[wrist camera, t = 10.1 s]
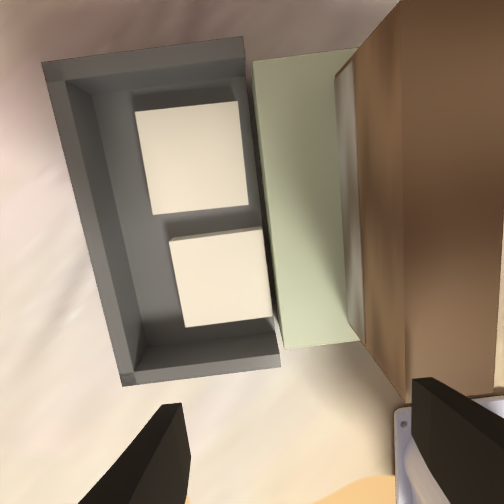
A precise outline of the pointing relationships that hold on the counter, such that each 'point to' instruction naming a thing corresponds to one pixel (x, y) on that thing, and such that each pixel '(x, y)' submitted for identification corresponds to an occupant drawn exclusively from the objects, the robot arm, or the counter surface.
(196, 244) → the tile
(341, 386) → the counter surface
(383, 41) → the brown wooden block
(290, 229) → the plate
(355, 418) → the counter surface
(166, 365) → the tray
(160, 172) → the tile
